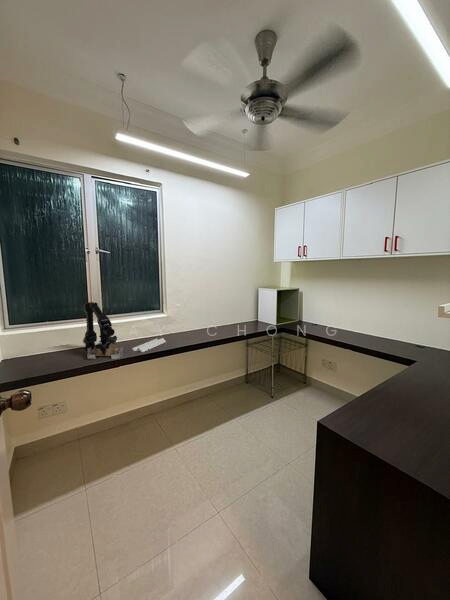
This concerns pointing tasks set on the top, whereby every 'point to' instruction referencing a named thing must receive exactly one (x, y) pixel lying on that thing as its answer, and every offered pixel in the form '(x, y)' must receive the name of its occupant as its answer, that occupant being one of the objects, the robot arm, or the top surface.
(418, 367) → the top surface
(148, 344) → the crown molding
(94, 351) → the rail
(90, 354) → the cup brackets
